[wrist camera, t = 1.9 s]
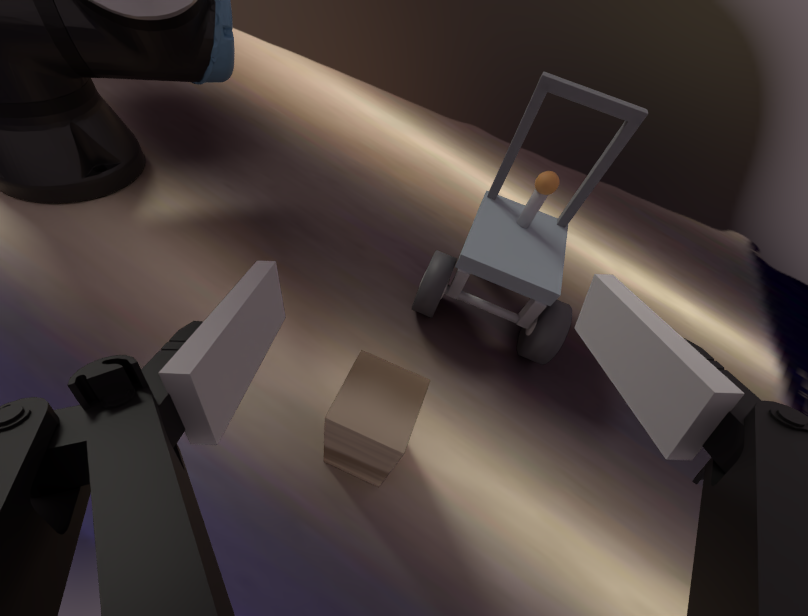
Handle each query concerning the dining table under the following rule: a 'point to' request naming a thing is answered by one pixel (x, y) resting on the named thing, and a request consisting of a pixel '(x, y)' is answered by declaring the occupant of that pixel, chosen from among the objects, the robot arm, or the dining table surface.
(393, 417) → the block
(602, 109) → the trolley
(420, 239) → the dining table surface
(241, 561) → the dining table surface
